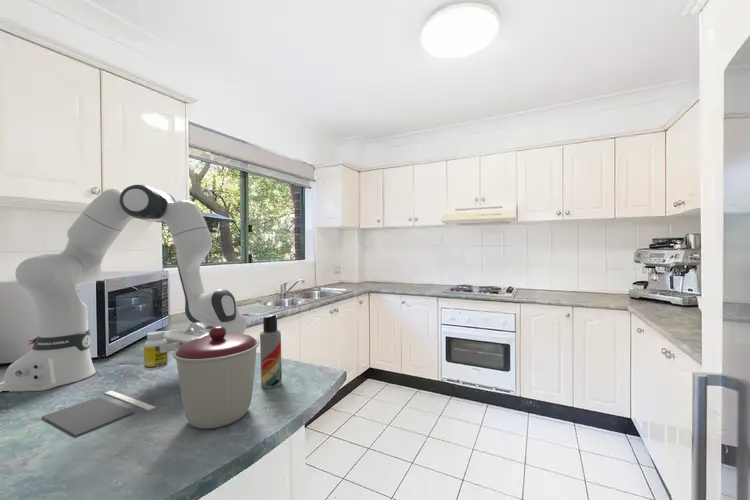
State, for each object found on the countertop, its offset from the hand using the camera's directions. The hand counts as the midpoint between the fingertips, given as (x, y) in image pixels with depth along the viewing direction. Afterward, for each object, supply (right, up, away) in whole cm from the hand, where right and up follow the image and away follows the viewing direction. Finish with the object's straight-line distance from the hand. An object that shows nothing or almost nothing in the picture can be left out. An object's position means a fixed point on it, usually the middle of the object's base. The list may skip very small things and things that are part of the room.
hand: (152, 348), depth 90 cm
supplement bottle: (+1, -6, +1) cm, 6 cm away
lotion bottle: (+32, -12, +3) cm, 35 cm away
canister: (+26, -12, -15) cm, 32 cm away
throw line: (-2, -12, -5) cm, 13 cm away
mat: (-6, -12, -13) cm, 19 cm away
